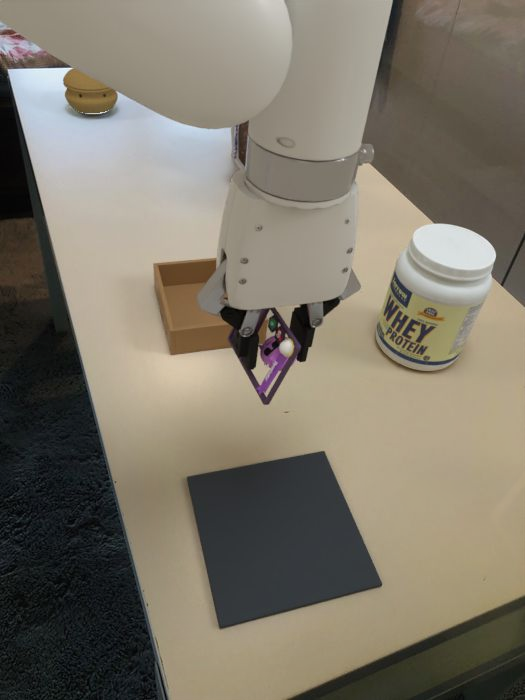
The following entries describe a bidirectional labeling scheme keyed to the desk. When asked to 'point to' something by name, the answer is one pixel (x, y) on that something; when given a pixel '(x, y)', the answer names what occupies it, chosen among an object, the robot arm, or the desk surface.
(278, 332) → the purple toy figure
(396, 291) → the supplement tub
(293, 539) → the mat
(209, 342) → the box
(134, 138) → the desk surface
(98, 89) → the pot
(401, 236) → the desk surface
